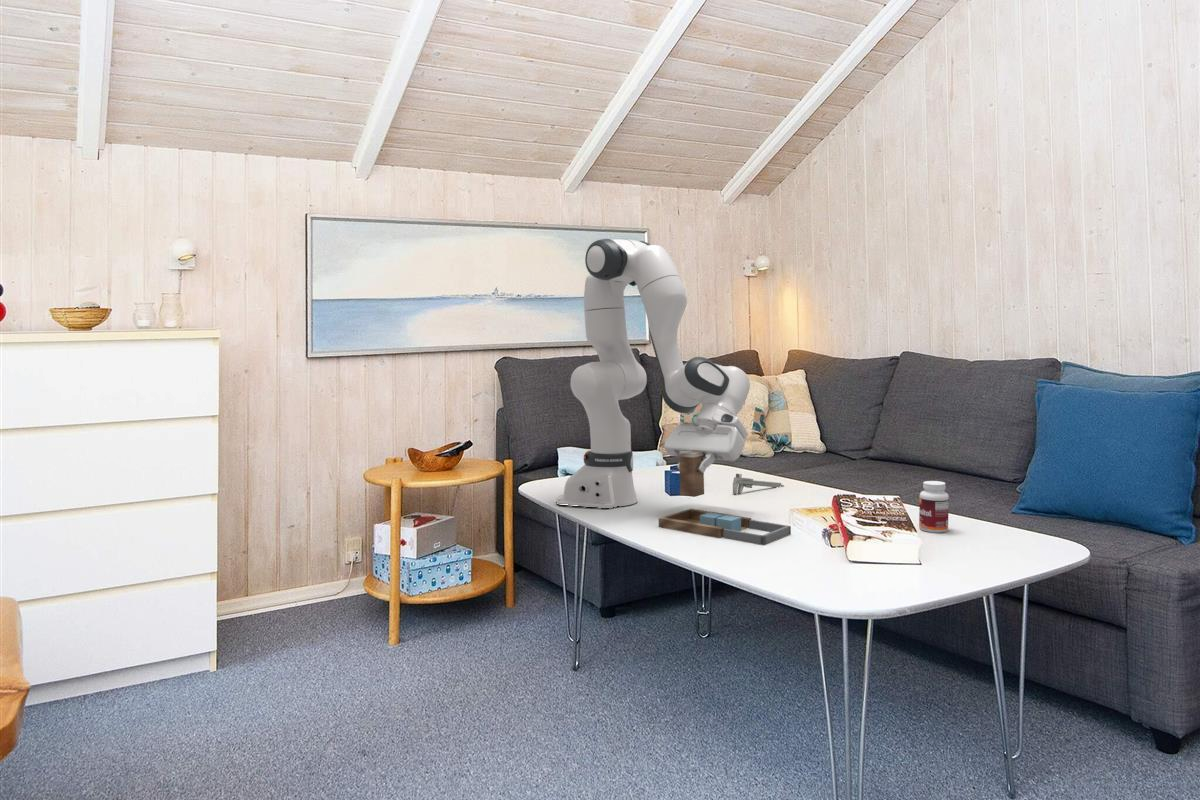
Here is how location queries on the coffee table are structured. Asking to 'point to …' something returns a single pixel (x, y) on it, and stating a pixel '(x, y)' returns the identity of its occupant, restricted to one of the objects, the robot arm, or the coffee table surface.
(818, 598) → the coffee table surface
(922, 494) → the pill bottle
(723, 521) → the light blue block
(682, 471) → the block
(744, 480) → the caliper
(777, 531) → the tray
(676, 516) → the slot board
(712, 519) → the pale blue block
